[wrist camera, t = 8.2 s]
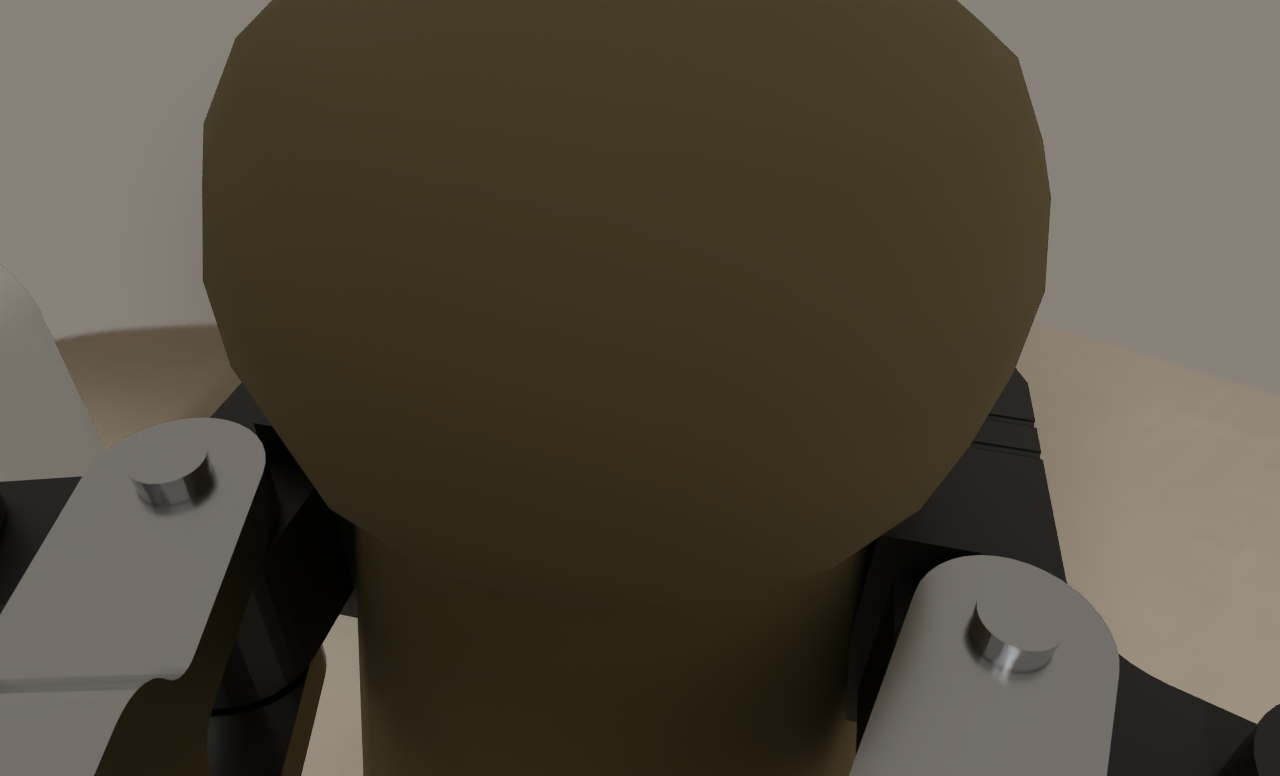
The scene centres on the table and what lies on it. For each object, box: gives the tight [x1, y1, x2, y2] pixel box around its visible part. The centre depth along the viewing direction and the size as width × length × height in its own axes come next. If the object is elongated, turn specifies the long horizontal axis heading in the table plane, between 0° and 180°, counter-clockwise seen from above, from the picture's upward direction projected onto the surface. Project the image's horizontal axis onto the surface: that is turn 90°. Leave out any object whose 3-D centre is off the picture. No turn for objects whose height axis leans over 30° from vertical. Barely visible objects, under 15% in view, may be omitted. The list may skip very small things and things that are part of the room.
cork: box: [202, 0, 1051, 776], centre depth 8 cm, size 6×6×11 cm
